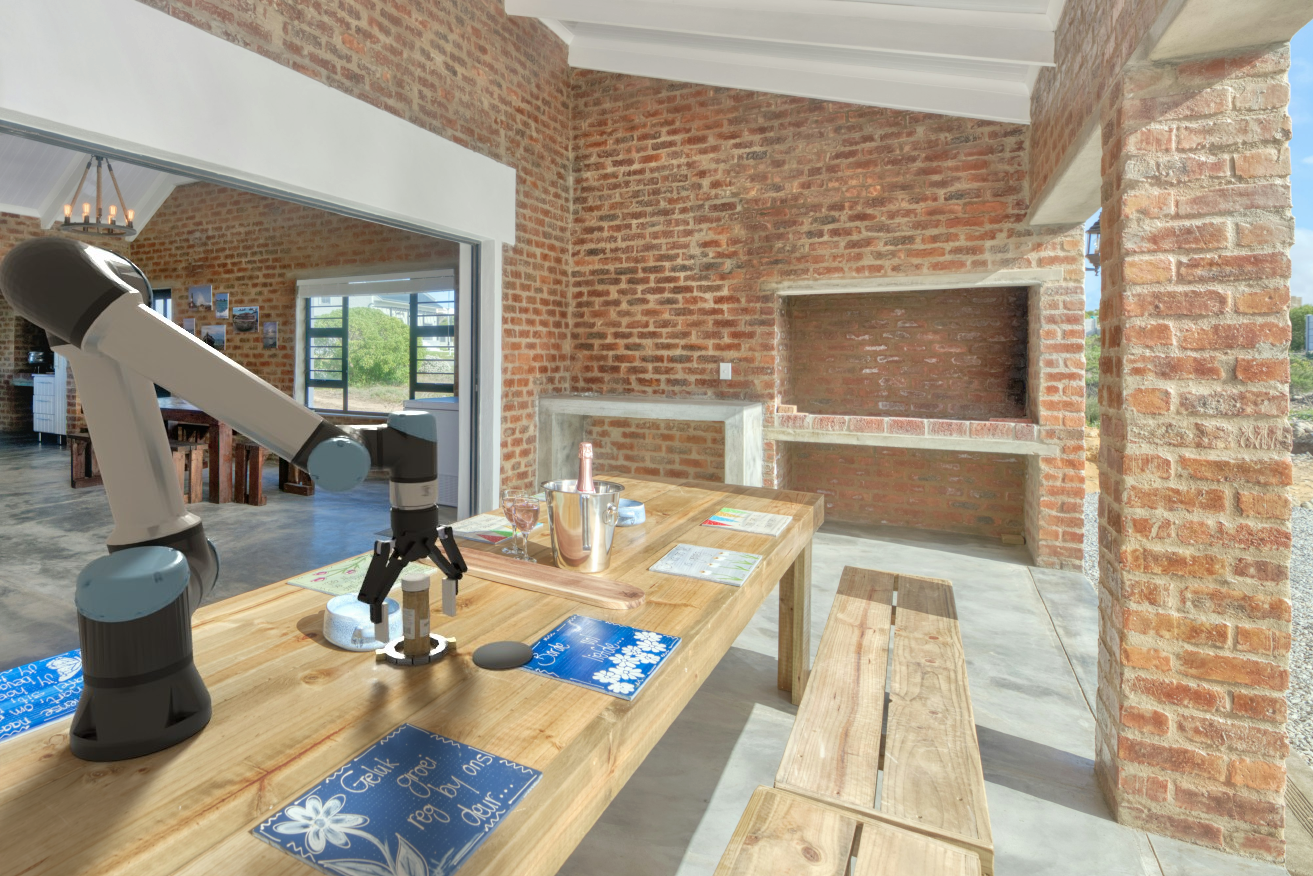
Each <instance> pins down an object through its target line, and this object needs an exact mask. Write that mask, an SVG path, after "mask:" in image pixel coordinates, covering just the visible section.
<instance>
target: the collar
mask: <svg viewBox="0 0 1313 876" xmlns="http://www.w3.org/2000/svg"><path fill="white" fill-rule="evenodd" d="M430 645H433V646H436V648H435V649H431V650H430V652H427V653H423V654H417V655H404V653H400V652H398V650H399V649H401V648H404V636H403V635H402V636H400V637H397V638H394V639H393V640H390V641H389V642H388V643H387V645H385V647H384V648H381V649H380V648H379V649H375V658H376V661H377V662H379V661H385V660H386V661H387V662H389V663H391V664H393V665H397V666H405V667H412V666H415V667H416V666H420V665H425V664H429V663H433V662H436V661H437V660H439V659H442V658H444V656H445V655H447V653H448V651H449V650H450V649H455V648H456V649H457V640H456V638H455V637H449V638H446V637H445V636H442V635H439V634H438V633H437V634H435V633H430Z"/></svg>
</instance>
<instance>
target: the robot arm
mask: <svg viewBox="0 0 1313 876" xmlns="http://www.w3.org/2000/svg"><path fill="white" fill-rule="evenodd" d="M0 291H1V293H2V295H3V297H4V299H5V301H6V302H7V304H8V305H9V306H10V307H11V308H12V309H13V310H14V311H15V312H16V313H17V314H18V315H20V316H21V317H22V318H23V319H26V320H27V321H29V322H30V323H32V324H34V325H35V326H38V327H39V328H41V329H44V331H45V335H46V338H47V342H48V345H49V348H50V350H51V351H52V352H54V353H56V354H58V355H59V356H60V357H63V358H65V359H66V361H68V362H69V366H70V368H71V373H72V377H73V379H74V384H75V387H76V390H77V394H78V398H79V401H80V405H81V408H82V413H83V415H84V418H85V419H84V421H85V422H86V427H87V430H88V433H89V436H90V441H91V444H92V447H93V451H94V454H95V457H96V458H95V459H96V461H97V466H98V469H99V473H100V476H101V479H102V483H103V486H104V490H105V493H106V494H105V495H106V497H107V501H108V504H109V507H110V508H109V509H110V512H111V515H112V518H113V522H114V528H113V530H112V532H110V534H109V535H108V537H107V538H106V539H105V544H106V548H107V552H108V554H107V555H102V556H100V557H97V558H96V559H94V560H91V561H90V562H89V563H88V564H86V565H85V566H84V567H83V568H82V569H81V570H80V571H79V573H78V575H77V577H76V581H75V582H76V583H75V585H76V587H75V592H74V603H75V607H76V612H77V613H76V615H77V625H78V636H79V637H78V638H79V646H80V647H79V648H80V659H81V668H82V669H81V670H82V679H83V687H82V691H81V693H80V697H79V699H78V702H77V706H76V709H75V711H74V715H73V718H72V721H71V723H70V727H69V734H68V735H69V736H68V737H69V745H70V746H69V747H70V751H71V753H72V754H73V755H74V756H76V757H77V758H80V759H83V760H87V761H93V762H97V761H98V762H110V761H121V760H126V759H127V760H128V759H133V758H137V757H141V756H145V755H150V754H152V753H155V752H159V751H162V750H163V749H167V748H169V747H172V746H174V745H176V744H178V743H180V742H182V741H184V740H186V739H189V738H190V737H191V736H193V735H194V734H196V733H197V732H199V731H200V730H202V729H203V728H204V727H205V726H206V725H207V724H208V723H209V721H210V720H211V717H212V714H213V710H212V709H213V707H212V697H211V695H210V692H209V690H208V688H207V685H206V684H205V682H204V680H203V678H202V676H201V675H200V673H199V670H198V669H197V666H196V664H195V663H194V662H195V661H194V649H193V647H194V645H193V643H194V642H193V630H192V618H193V617H192V616H193V615H194V613H195V612H196V611H197V609H198V608H199V607H200V606H201V605H202V603H203V601H204V600H205V599H206V598H208V596H209V595H210V593H212V591H213V590H214V588H215V586H216V584H217V582H218V579H219V575H220V572H221V571H220V570H221V556H220V554H219V553H220V552H219V550H218V548H217V547H216V545H215V544H214V542H213V541H212V540H211V539H210V538H209V537H208V536H206V532H205V529H204V525H203V522H202V519H201V517H200V516H199V515H196V514H194V513H192V512H190V511H188V510H187V508H186V504H185V500H184V499H185V498H184V496H183V492H182V487H181V485H180V480H179V476H178V473H177V469H176V465H175V462H174V457H173V453H172V449H171V446H170V442H169V438H168V433H167V430H166V427H165V423H164V419H163V416H162V412H161V407H160V404H159V399H158V396H157V392H156V388H155V385H154V384H156V385H157V386H159V387H161V388H163V389H165V390H166V391H168V392H169V393H171V394H172V395H175V396H176V397H178V398H179V399H181V400H183V401H184V402H186V403H188V404H190V405H191V406H193V407H195V408H197V409H198V410H200V411H201V412H204V413H205V414H206V415H209V416H210V417H211V418H214V419H215V420H216V421H219V422H220V423H222V424H224V425H226V426H227V427H229V428H230V429H233V430H234V431H236V432H237V433H238V434H241V435H242V436H244V437H246V438H248V439H249V440H251V441H253V442H254V443H256V444H258V445H260V446H261V447H263V448H264V449H266V450H268V451H269V452H271V453H273V454H275V455H276V456H278V457H280V458H282V459H283V460H286V461H287V462H288V463H290V464H292V465H293V466H295V467H296V468H298V469H299V470H300V471H302V472H304V473H307V475H309V477H310V479H311V480H312V482H313V483H314V484H315V485H316V487H319V488H320V489H322V490H323V491H326V492H329V493H333V494H334V493H335V494H341V493H342V494H343V493H346V492H349V491H352V490H354V489H356V488H357V487H359V486H360V485H361V483H363V482H364V480H365V479H366V478H367V477H368V475H369V472H382V471H389V504H391V505H392V507H391V508H390V510H389V511H390V513H389V514H390V528H391V531H392V537H391V539H389V540H381V539H376V540H375V541H374V544H373V555H372V558H371V561H370V563H369V566H368V568H367V570H366V573H365V576H364V579H363V582H362V583H361V587H360V589H359V591H358V595H357V601H359V602H361V603H364V604H365V605H369V619H370V620H369V621H370V622H371V624H373V627H374V628H373V629H374V640H375V641H378V642H381V643H383V644H389V643H390V626H389V625H390V624H389V603H388V602H387V601H385V600H386V598H387V597H388V594H389V593H390V591H391V590H392V588H393V586H394V585H395V583H396V582H397V580H398V578H399V576H400V575H401V573H402V571H403V569H405V568H406V567H407V566H408V565H409V563H414V562H417V561H418V560H421V559H428V558H429V559H430V560H431V561H432V563H434V565H436V567H437V568H438V569H439V570H441V572H442V573H443V574H444V575H445V577H442V578H441V603H442V604H441V606H442V609H441V610H442V611H441V613H442V614H443V615H446V616H448V617H451V618H453V617H457V607H456V606H457V604H456V603H457V598H456V596H458V594H459V581H461V580H462V579H463V576H464V575H463V574H466V573H467V572H468V571H469V570H468V569H469V568H468V566H467V564H466V561H465V558H464V557H463V555H462V552H461V551H460V549H459V547H458V544H457V542H456V540H455V538H454V531H453V530H454V529H453V527H452V526H451V525H446V524H442V523H439V522H440V521H439V506H438V504H436V503H437V502H438V500H439V487H438V486H439V484H438V483H439V480H438V479H439V478H438V473H439V472H438V433H437V420H436V419H437V418H436V416H435V415H434V414H433V413H432V412H431V411H422V410H402V411H400V410H398V411H391V412H390V413H389V414H388V416H387V421H386V423H382V424H334V423H333V422H331V421H328V420H327V419H325V418H324V417H323V416H321V415H320V414H318V413H316V412H314V411H313V410H311V409H310V408H308V407H306V406H305V405H304V404H302V403H300V402H299V401H297V400H295V398H293V397H291V396H290V395H287V393H285V392H283V391H281V390H280V389H278V388H276V387H275V386H274V385H273V384H271V383H269V382H267V380H264V379H262V378H261V377H260V376H257V375H256V374H255V373H253V372H252V371H250V370H248V369H246V368H245V367H243V366H242V365H241V364H239V363H238V362H235V361H234V360H232V359H231V358H229V357H228V356H226V355H224V354H223V353H222V352H219V350H217V349H215V348H213V347H212V346H210V345H208V344H207V343H205V342H204V341H202V340H201V339H199V338H198V337H196V336H194V335H193V334H191V333H189V332H188V331H186V330H185V329H183V328H182V327H180V326H179V325H177V324H175V323H174V322H172V321H171V320H169V319H167V318H166V317H164V316H163V315H162V314H159V313H158V312H156V311H155V310H154V309H153V304H154V293H153V290H152V286H151V283H150V281H149V279H148V277H147V276H146V275H145V273H144V272H143V271H142V270H141V268H139V267H138V266H137V265H135V264H134V263H133V262H132V261H131V260H130V259H128V258H126V257H125V256H124V255H121V254H120V253H118V252H115V251H114V250H112V249H107V248H105V247H102V246H97V245H92V244H88V243H85V242H84V241H80V240H79V239H78V240H77V239H74V238H71V237H67V236H61V235H60V236H59V235H41V236H36V237H31V238H29V239H26V240H22V241H20V242H19V243H18V244H15V245H14V246H13V247H11V248H10V250H9V251H8V252H7V253H6V254H5V255H4V256H3V259H2V260H1V263H0ZM438 540H439V542H440V544H441V546H442V549H443V551H444V553H445V554H446V556H447V557H446V556H445V555H444V554H443V553H442V551H441V550H440V548H439V547H438V546H437V545H436V543H437V541H438ZM392 549H393V550H392ZM399 557H400V559H399ZM447 558H448V559H447Z"/></svg>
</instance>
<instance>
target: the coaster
mask: <svg viewBox="0 0 1313 876" xmlns="http://www.w3.org/2000/svg"><path fill="white" fill-rule="evenodd" d="M533 653H534V651H533V648H532V647H531V646H529V645H528V644H526V643H523V642H520V641H515V640H514V641H512V640H502V641H501V640H499V641H494V642H490V643H486V644H483V645H482V646H481V645H480V646H479V647H478V648H476V649H475V650H474V652H473V653H472V661H473V663H474V664H475V665H477V666H478V667H480V668H484V669H489V670H506V669H507V670H508V669H513V668H516V667H520V666H523V665H524V664H526V663H528V662H529V661H531V660H532V658H533V655H534V654H533Z"/></svg>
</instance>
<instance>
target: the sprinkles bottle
mask: <svg viewBox="0 0 1313 876" xmlns="http://www.w3.org/2000/svg"><path fill="white" fill-rule="evenodd" d="M400 580H401V581H400V584H401V585H400V586H401V587H400V588H401V591H402V636H404V647H403V650H402V651H403V652H402V654H403V655H417V654H423V653H427V652H430V651H432V647H431V644H430V634H431V614H430V612H431V611H430V607H431V606H430V587H431V576H430V575H429V574H428V573H424V572H412V573H408V574H405V575H404V576H402V577H401V579H400Z"/></svg>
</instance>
